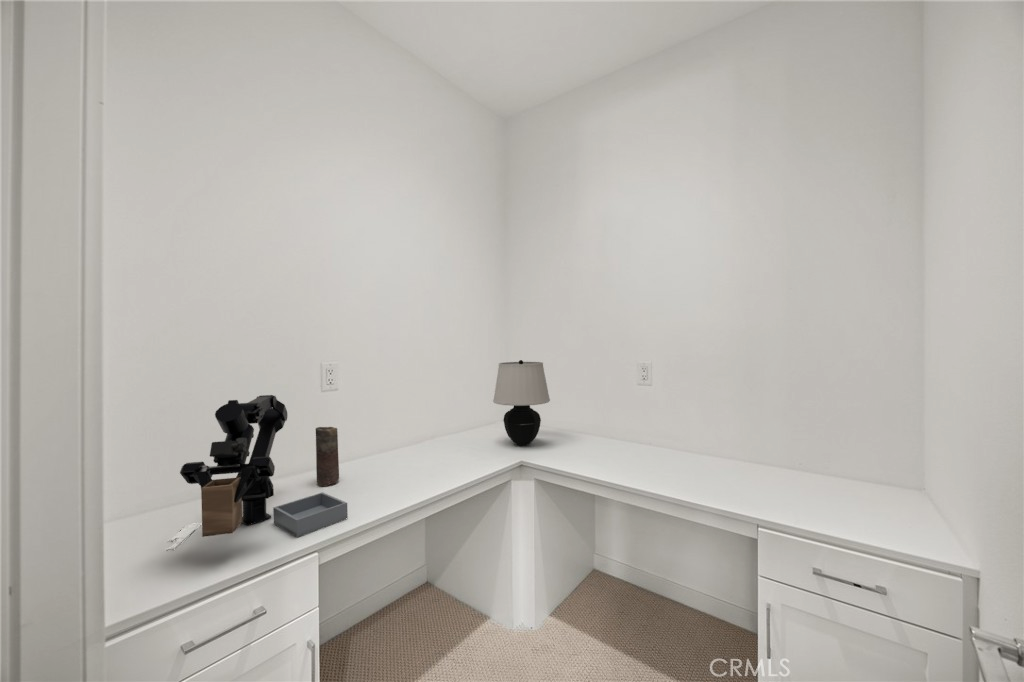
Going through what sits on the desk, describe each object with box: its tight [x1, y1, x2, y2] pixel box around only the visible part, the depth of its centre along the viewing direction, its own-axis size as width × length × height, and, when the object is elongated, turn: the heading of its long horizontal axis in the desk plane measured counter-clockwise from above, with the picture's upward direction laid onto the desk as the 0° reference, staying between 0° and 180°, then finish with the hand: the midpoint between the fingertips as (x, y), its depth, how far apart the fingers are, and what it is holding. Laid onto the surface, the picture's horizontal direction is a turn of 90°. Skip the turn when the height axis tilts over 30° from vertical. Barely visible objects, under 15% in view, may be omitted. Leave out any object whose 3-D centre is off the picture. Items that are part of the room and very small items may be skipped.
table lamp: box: [492, 359, 551, 446], centre depth 197 cm, size 27×27×40 cm
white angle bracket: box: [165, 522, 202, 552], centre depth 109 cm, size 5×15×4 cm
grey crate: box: [272, 491, 349, 539], centre depth 117 cm, size 14×14×4 cm
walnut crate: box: [200, 477, 243, 538], centre depth 98 cm, size 6×6×11 cm
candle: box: [315, 426, 340, 487], centre depth 148 cm, size 8×7×20 cm
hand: (219, 503), depth 96 cm, fingers closed on walnut crate, 6 cm apart
